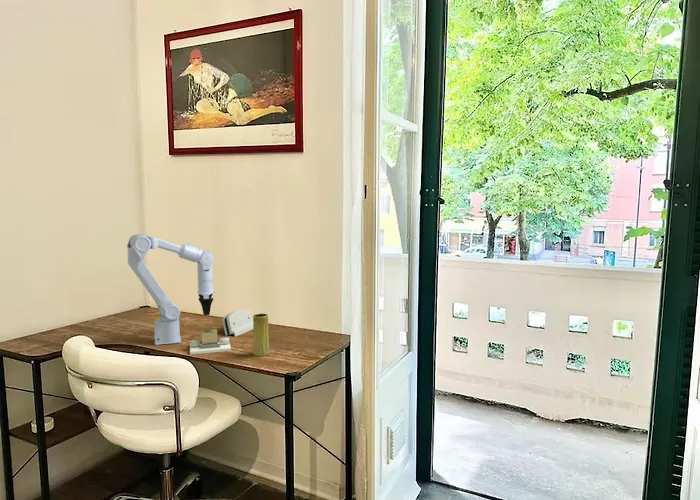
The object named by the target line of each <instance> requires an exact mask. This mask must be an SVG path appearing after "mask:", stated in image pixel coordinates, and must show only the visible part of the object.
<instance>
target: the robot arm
mask: <svg viewBox="0 0 700 500" xmlns="http://www.w3.org/2000/svg"><path fill="white" fill-rule="evenodd" d="M126 248H127V264H128V265H129V267H130V269H131V270H132V271H133V272H134V275H136V277H137V278H138V279H139V281H140V282H141V284H142V286H143V287H144V288H145V289H146V291H147V292H148V293H149V295H150V296H151V297H152V299H153V300H154V302H155V304H156V306H157V311H158V312H159V314H160V317H159V319H156V320H154V322H153V323H154V324H153V329H154V332H153V333H154V336H153V339H154V345H155V346H157V345H167V344H168V345H169V344H170V345H171V344H181V343H182V336H181V333H180V332H181V331H180V329H181V328H180V315H181V308H180V307H179V306H178V305H177V304H175V303H173V301H172V300H171V298H169V296H167V293H165V291H164V289H163V288H162V286H160V284H159V282H158V281H157V280H156V278H155V277H154V275H153V273H152V272H151V271H150V269H148V267H147V265H146V264H145V263H144V261H145V257H146V255H147V254H148V252H149V250H150V249H151V250H155V249H162V250H165V251H169V252H172V253H175V254H177V255H178V257H179V258H181V259H184V260H186V261H189V262H193V263H196V264H197V269H196V270H197V295H198V301H199V303H200V305H201V309H202V314H203V316H210V314H211V307H212V304H213V301H214V297H212V296H213V293H216V291H217V290H216V289H214V286H213V281H214V280H213V263H214V261H215V257H214V255H213V254H212V253H211V252H210V251H207V250H204V249H203V248H201V247H199V248H198V247H195V246H192V244H191V243H183V244H181V245H179V244H176V243H173V242H170V241H168V240H166V239H162V238H159V237H155V236H149V235H142V234H140V233H137V234H132V235H131V236H130V237H129V239H128V242H127V245H126Z"/></svg>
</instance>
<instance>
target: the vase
mask: <svg viewBox="0 0 700 500" xmlns="http://www.w3.org/2000/svg"><path fill="white" fill-rule="evenodd" d="M252 318H253V329H252V331H253V337H252V339H253V349H252V350H253V351H252V354H253V356H256V357H265V356H268V355H270V354H271V350H270V339H269V338H270V337H269V314H267V313H255V314H253V315H252Z"/></svg>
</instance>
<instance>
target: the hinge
mask: <svg viewBox="0 0 700 500" xmlns="http://www.w3.org/2000/svg"><path fill="white" fill-rule="evenodd" d="M221 322H222V325H223V330H224V334H225V336H229V335H234V337H238V336H240V335H243V334H245V333H248V332H250V331H253V315H252V313H251V311H250V310H249V309H244V308H243V309H236V310H233V311H231V312H229V313H228V314H226V315H225V316H224V317H223V318H222V321H221Z"/></svg>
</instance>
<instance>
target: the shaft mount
mask: <svg viewBox="0 0 700 500" xmlns="http://www.w3.org/2000/svg"><path fill="white" fill-rule="evenodd" d="M217 339H218V344H209V345H202V339H196V340H190V342H189V354H190V356H191V355H201V354H212V353H222V352H223V353H224V352H231V351H232V347H231V343H230V337H229V336H228V337H220V338H219V337H218V338H217Z"/></svg>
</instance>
